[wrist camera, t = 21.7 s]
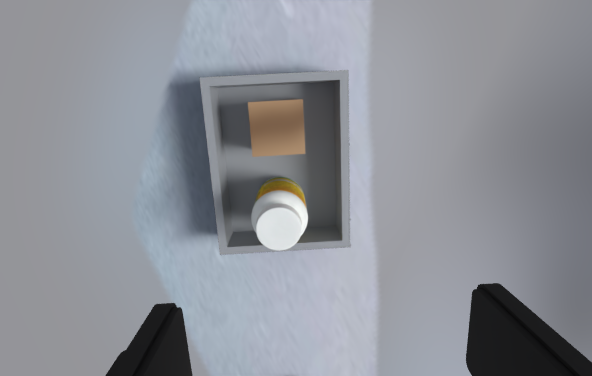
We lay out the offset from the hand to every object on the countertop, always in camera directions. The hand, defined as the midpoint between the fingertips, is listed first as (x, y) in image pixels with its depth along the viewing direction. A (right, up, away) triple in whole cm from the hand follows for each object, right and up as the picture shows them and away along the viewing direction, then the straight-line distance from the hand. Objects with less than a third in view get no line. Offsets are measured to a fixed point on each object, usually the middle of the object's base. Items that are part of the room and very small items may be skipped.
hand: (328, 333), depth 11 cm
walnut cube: (-3, +11, +25) cm, 28 cm away
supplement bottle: (-3, +4, +28) cm, 28 cm away
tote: (-3, +8, +27) cm, 28 cm away
